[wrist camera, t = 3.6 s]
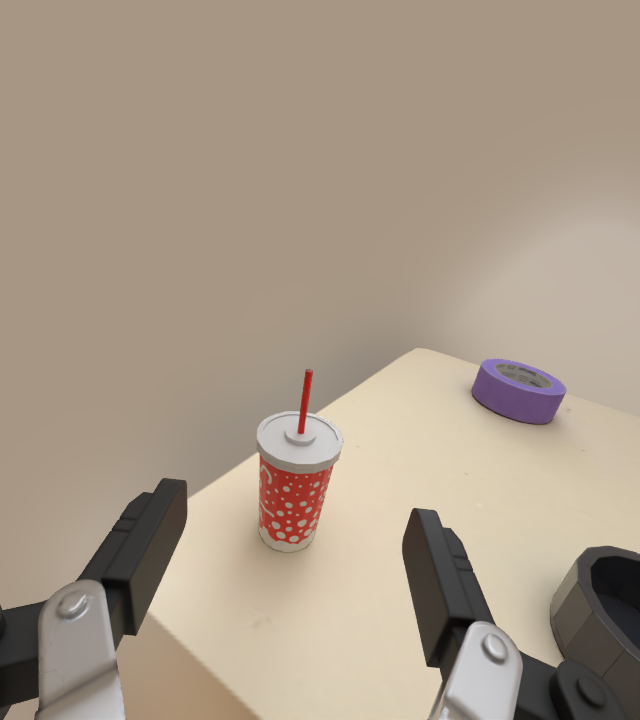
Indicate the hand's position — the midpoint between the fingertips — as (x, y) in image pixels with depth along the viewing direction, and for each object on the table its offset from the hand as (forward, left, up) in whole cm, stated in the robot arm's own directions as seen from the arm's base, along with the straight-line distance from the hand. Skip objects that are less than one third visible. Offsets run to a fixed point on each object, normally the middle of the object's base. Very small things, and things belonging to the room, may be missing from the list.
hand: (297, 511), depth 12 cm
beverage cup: (+11, +2, -14) cm, 18 cm away
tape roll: (+44, -25, -14) cm, 52 cm away
